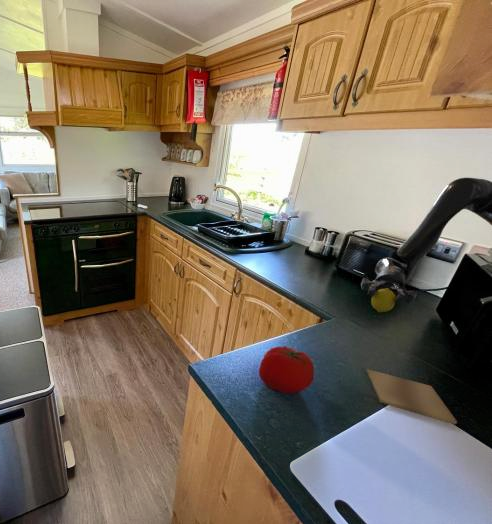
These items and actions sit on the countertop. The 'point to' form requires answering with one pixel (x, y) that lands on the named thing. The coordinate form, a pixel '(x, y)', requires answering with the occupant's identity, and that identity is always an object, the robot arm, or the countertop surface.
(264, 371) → the tomato
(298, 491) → the countertop surface
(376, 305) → the lemon
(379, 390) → the board
